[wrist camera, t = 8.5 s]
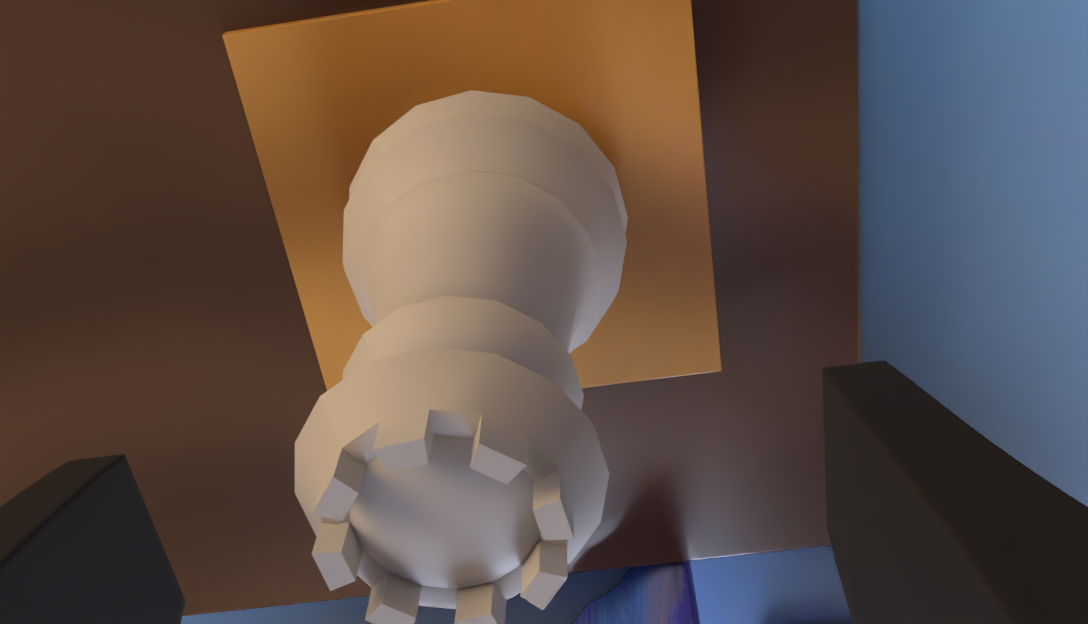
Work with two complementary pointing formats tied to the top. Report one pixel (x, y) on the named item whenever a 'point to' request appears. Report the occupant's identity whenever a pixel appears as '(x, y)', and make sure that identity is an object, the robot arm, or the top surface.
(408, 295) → the rook chess piece
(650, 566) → the multicoloured long bar
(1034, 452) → the top surface
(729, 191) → the board
